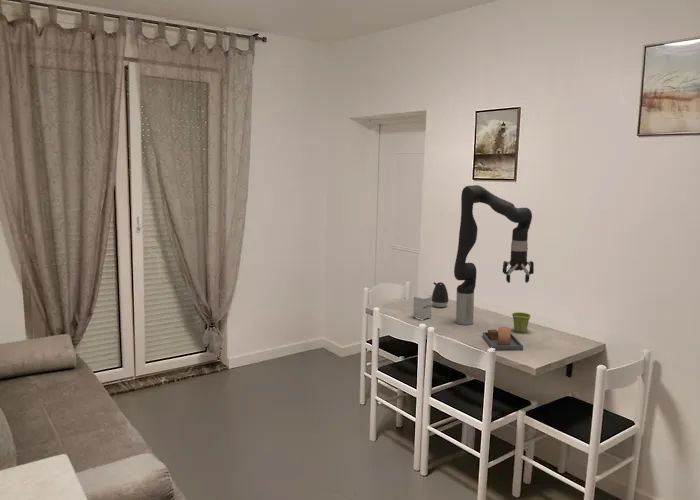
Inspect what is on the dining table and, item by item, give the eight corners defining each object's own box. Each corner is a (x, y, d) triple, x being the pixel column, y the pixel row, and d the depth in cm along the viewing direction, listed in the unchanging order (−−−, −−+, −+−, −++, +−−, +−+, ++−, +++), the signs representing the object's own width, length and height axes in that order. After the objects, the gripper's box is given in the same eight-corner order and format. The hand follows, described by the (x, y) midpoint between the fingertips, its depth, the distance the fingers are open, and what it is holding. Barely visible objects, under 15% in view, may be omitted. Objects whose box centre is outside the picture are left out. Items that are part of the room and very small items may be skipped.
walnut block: (487, 337, 262) (487, 329, 261) (495, 337, 263) (495, 329, 262) (490, 340, 258) (491, 332, 257) (498, 339, 259) (498, 331, 258)
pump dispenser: (438, 303, 330) (439, 279, 327) (451, 306, 322) (452, 282, 320) (427, 306, 323) (428, 282, 321) (440, 309, 316) (441, 284, 313)
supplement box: (422, 320, 293) (422, 298, 291) (412, 318, 299) (413, 296, 297) (431, 318, 298) (431, 296, 296) (421, 315, 303) (422, 294, 301)
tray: (482, 336, 265) (482, 332, 265) (510, 336, 265) (510, 332, 265) (492, 350, 246) (493, 345, 245) (522, 350, 246) (523, 345, 245)
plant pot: (531, 329, 276) (532, 313, 274) (527, 334, 268) (528, 318, 266) (513, 327, 280) (514, 311, 279) (509, 332, 273) (509, 315, 271)
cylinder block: (496, 342, 254) (496, 326, 253) (507, 342, 254) (508, 326, 253) (500, 346, 249) (500, 330, 247) (511, 346, 249) (512, 329, 248)
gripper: (531, 248, 256) (529, 280, 259) (502, 248, 256) (500, 280, 259) (536, 250, 248) (534, 284, 251) (506, 250, 249) (504, 284, 252)
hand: (517, 282), depth 255 cm, fingers open, 8 cm apart
